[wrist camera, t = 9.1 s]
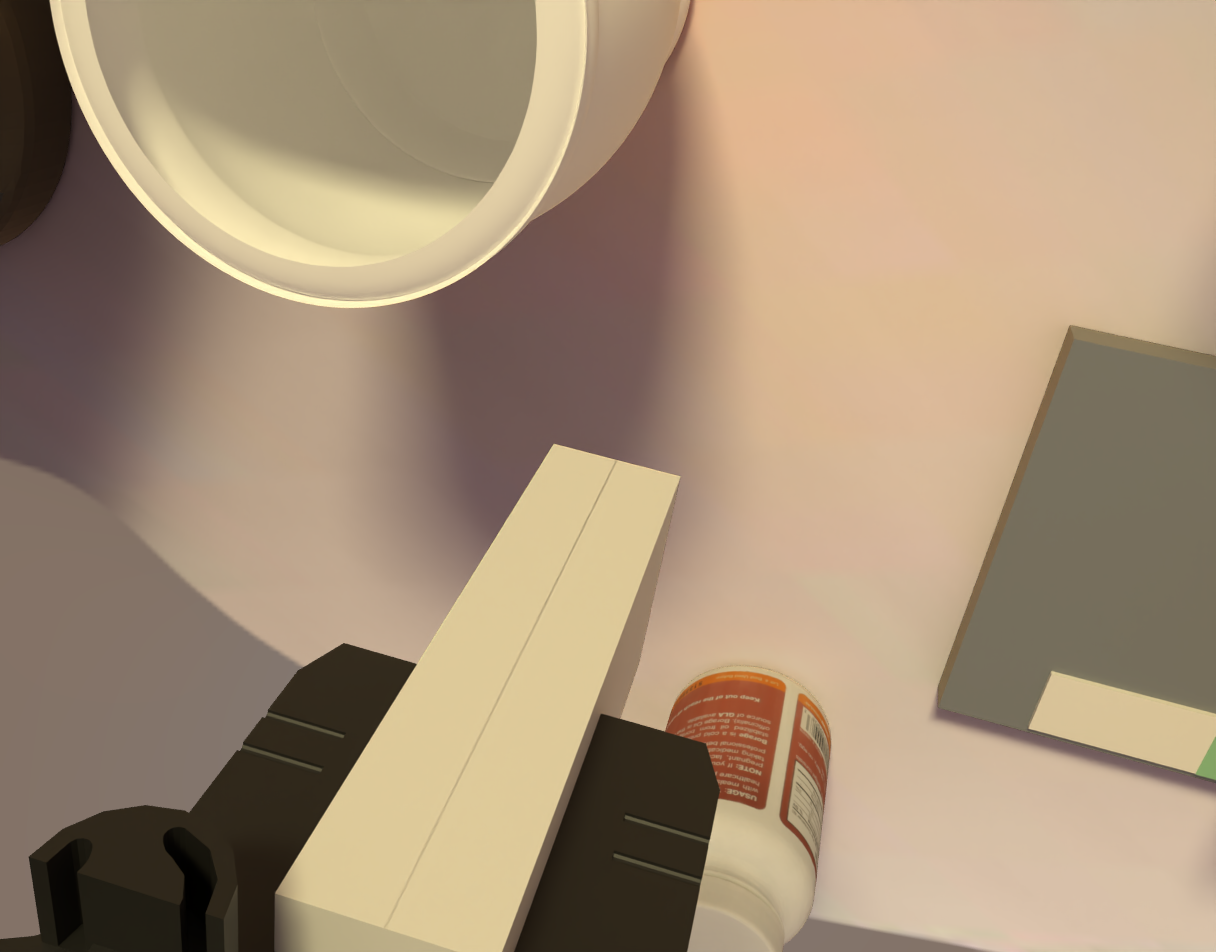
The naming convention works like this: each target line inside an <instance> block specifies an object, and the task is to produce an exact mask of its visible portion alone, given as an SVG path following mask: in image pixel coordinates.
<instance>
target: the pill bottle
mask: <svg viewBox="0 0 1216 952" xmlns="http://www.w3.org/2000/svg"><path fill="white" fill-rule="evenodd" d="M665 732H668V733H671V734H675V735H678V736H682V737H685V738H689V739H692V740H696V741H699V742H703V743H706V745H707V748H708V752H709V755H710V758H711V762H712V765H713V768H714V772H715V775H716V778H717V782H718V785H719V788H720V793H719V798H718V803H717V808H716V813H715V818H714V823H713V828H712V833H711V837H710V841H709V845H708V852H707V857H706V862H705V867H704V872H703V877H702V881H701V885H700V892H699V896H698V901H697V906H696V911H695V916H694V921H693V926H692V931H691V936H690V941H689V946H688V950H687V952H783V947H784V944H786V943H787V942H789V941H790V940H791V939H792V938H793V937H794V936H795V935H796V934H797V933H798V932H799V931H800V930H801V928H802V927H803V926H804V924H805V923H806V921H807V919H808V917H809V915H810V912H811V909H812V906H813V901H814V895H815V887H816V879H817V868H818V858H819V849H820V840H821V830H822V822H823V812H824V804H825V794H826V786H827V776H828V767H829V759H830V748H831V734H830V728H829V724H828V721H827V718H826V716H825V713H824V711H823V710H822V708H821V706H820V705H819V703H818V702H817V700H816V699H815V698H814V697H813V696H812V695H811V694H810V692H808V691H807V690H806V689H805V688H804V687H802V686H801V685H800V684H798V683H797V682H795V681H794V680H792V679H790V678H788V677H786V676H784V675H782V674H780V673H777V672H775V671H772V670H768V669H764V668H760V667H753V666H727V667H722V668H717V669H713V670H711V671H708V672H705V673H703V674H701V675H699V676H698V677H696V678H695V679H693V680H692V681H691V682H690V683H689V684H688V685H687V686H686V687H685V688H684V689H683V690H682V691H681V693H680V694H679V696H678V697H677V699H676V701H675V703H674V706H673V708H672V711H671V714H670V717H669V720H668V724H667V727H666V730H665Z"/></svg>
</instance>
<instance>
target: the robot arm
mask: <svg viewBox="0 0 1216 952" xmlns="http://www.w3.org/2000/svg"><path fill="white" fill-rule="evenodd" d="M70 126H71V93H70V81H69V77H68V74H67V72H66V69H65V65H64V62H63V59H62V56H61V52H60V48H59V45H58V41H57V37H56V32H55V28H54V23H53V18H52V12H51V6H50V0H0V246H1V245H3V244H5V243H7V242H9V241H10V240H12V239H14V238H15V237H17V236H18V235H19V234H21V233H22V232H23V231H24V230H25V229H27V228H28V227H29V226H30V225H31V224H32V223H33V222H34V221H35V220H36V218H37V217H38V216H39V215H40V213H41V212H42V211H43V209H44V208H45V206H46V205H47V203H48V202H49V200H50V198H51V196H52V194H53V193H54V191H55V189H56V186H57V184H58V181H59V179H60V176H61V173H62V170H63V167H64V164H65V159H66V155H67V150H68V144H69V137H70ZM680 477H681V476H677V475H673V474H669V473H666V472H662V471H658V470H654V469H650V468H646V467H642V466H638V465H634V464H631V463H627V462H623V461H619V460H615V459H611V458H607V457H603V456H599V455H596V454H592V453H588V452H584V451H580V450H576V449H572V448H568V447H564V446H561V445H557V444H553V446H552V448H551V449H550V451H549V452H548V454H547V456H546V457H545V459H544V460H543V462H542V464H541V465H540V467H539V468H538V470H537V472H536V473H535V475H534V477H533V478H532V480H531V481H530V483H529V485H528V486H527V488H526V489H525V491H524V493H523V494H522V496H521V497H520V499H519V501H518V502H517V504H516V506H515V507H514V509H513V510H512V512H511V514H510V515H509V517H508V518H507V520H506V522H505V523H504V525H503V527H502V528H501V530H500V531H499V533H498V535H497V536H496V538H495V539H494V541H493V543H492V544H491V546H490V547H489V549H488V551H487V552H486V554H485V556H484V557H483V559H482V560H481V562H480V564H479V565H478V567H477V568H476V570H475V572H474V573H473V575H472V576H471V578H470V580H469V581H468V583H467V585H466V586H465V588H464V589H463V591H462V593H461V594H460V596H459V597H458V599H457V601H456V602H455V604H454V605H453V607H452V609H451V610H450V612H449V614H448V615H447V617H446V618H445V620H444V622H443V623H442V625H441V626H440V628H439V630H438V631H437V633H436V635H435V636H434V638H433V639H432V641H431V643H430V644H429V646H428V647H427V649H426V651H425V652H424V654H423V655H422V657H421V659H420V660H419V662H418V664H415V663H412V662H408V661H405V660H401V659H398V658H394V657H391V656H387V655H384V654H380V653H377V652H373V651H370V650H366V649H363V648H359V647H356V646H352V645H349V644H345V643H343V644H342V645H340V646H338V647H337V648H335V649H333V650H332V651H330V652H328V653H327V654H325V655H323V656H322V657H320V658H318V659H317V660H315V661H313V662H312V663H310V664H308V665H307V666H305V667H303V668H302V669H300V670H298V671H297V673H296V674H295V675H294V677H293V678H292V679H291V680H290V682H289V683H288V684H287V686H286V687H285V688H284V690H283V691H282V692H281V694H280V695H279V696H278V697H277V699H276V700H275V701H274V703H273V704H272V705H271V707H270V708H269V709H268V714H267V716H266V717H265V718H263V717H262V718H261V720H260V721H259V722H258V724H257V725H256V726H255V728H254V729H253V730H252V731H251V733H250V734H249V735H248V737H247V738H246V739H245V741H244V742H243V746H242V749H241V750H240V751H238V750H237V751H236V752H235V754H234V755H233V756H232V758H231V759H230V760H229V761H228V763H227V764H226V765H225V767H224V768H223V769H222V771H221V772H220V773H219V775H218V776H217V777H216V778H215V780H214V781H213V782H212V784H211V785H210V786H209V788H208V789H207V790H206V792H205V793H204V794H203V795H202V797H201V798H200V799H199V801H198V802H197V803H196V805H195V806H194V807H193V809H192V810H191V811H190V812H189V813H188V812H186V811H183V810H176V809H169V808H162V807H155V806H147V805H144V806H137V807H131V808H124V809H118V810H110V811H104V812H101V813H99V814H96V815H94V816H92V817H89V818H87V819H85V820H83V821H80V822H78V823H76V824H73V825H71V826H69V827H66V828H64V829H62V830H61V831H60V832H58V833H57V834H56V835H55V836H54V837H52V838H51V839H50V840H49V841H47V842H46V843H45V844H44V845H43V846H42V847H40V848H39V849H38V850H36V851H35V852H34V853H33V854H32V855H30V856H29V861H30V868H31V874H32V880H33V888H34V894H35V900H36V907H37V914H38V919H39V926H40V933H41V934H39V935H36V936H31V937H30V936H29V937H19V938H8V939H0V952H687V950H688V946H689V941H690V936H691V931H692V926H693V921H694V916H695V911H696V906H697V901H698V896H699V892H700V885H701V881H702V877H703V872H704V867H705V862H706V857H707V852H708V845H709V841H710V837H711V833H712V828H713V823H714V818H715V813H716V808H717V803H718V798H719V793H720V788H719V785H718V782H717V778H716V775H715V772H714V768H713V765H712V762H711V758H710V755H709V752H708V748H707V745H706V743H703V742H699V741H696V740H692V739H689V738H685V737H682V736H678V735H675V734H671V733H668V732H664V731H661V730H657V729H654V728H650V727H647V726H643V725H640V724H636V723H633V722H629V721H626V720H622V719H620V718H621V715H622V712H623V709H624V706H625V703H626V700H627V697H628V694H629V691H630V688H631V685H632V682H633V679H634V676H635V673H636V671H637V668H638V665H639V661H640V657H641V652H642V648H643V643H644V639H645V634H646V630H647V625H648V621H649V616H650V612H651V607H652V603H653V598H654V594H655V589H656V585H657V580H658V576H659V571H660V567H661V563H662V558H663V554H664V549H665V545H666V540H667V536H668V531H669V527H670V522H671V518H672V513H673V509H674V504H675V500H676V495H677V491H678V486H679V482H680Z"/></svg>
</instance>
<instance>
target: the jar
mask: <svg viewBox="0 0 1216 952" xmlns="http://www.w3.org/2000/svg"><path fill="white" fill-rule="evenodd" d="M689 5H690V0H50V6H51V12H52V18H53V23H54V28H55V32H56V37H57V41H58V45H59V48H60V52H61V56H62V59H63V62H64V65H65V69H66V72H67V74H68V77H69V80H70V83H71V86H72V88H73V91H74V93H75V96H76V98H77V100H78V103H79V105H80V107H81V110H82V112H83V114H84V116H85V118H86V120H87V122H88V124H89V126H90V128H91V130H92V132H93V134H94V136H95V137H96V139H97V141H98V143H99V144H100V146H101V148H102V150H103V151H104V153H105V154H106V156H107V158H108V159H109V161H110V162H111V164H112V165H113V167H114V168H115V170H116V171H117V173H118V174H119V175H120V177H121V178H122V180H123V181H124V182H125V184H126V185H127V186H128V187H129V189H130V190H131V191H132V192H133V194H134V195H135V196H136V197H137V199H138V200H139V201H140V202H141V203H142V204H143V205H144V207H145V208H146V209H147V210H148V211H149V212H150V213H151V214H152V215H153V216H154V217H155V218H156V219H157V220H158V221H159V222H160V223H161V224H162V225H163V226H164V227H165V228H166V229H167V230H168V231H169V232H170V233H171V234H173V235H174V236H175V237H176V238H177V239H178V240H179V241H181V242H182V243H183V244H184V245H186V246H187V247H188V248H189V249H191V250H192V251H193V252H195V253H196V254H197V255H199V256H200V257H202V258H203V259H204V260H206V261H207V262H209V263H210V264H212V265H214V266H215V267H217V268H218V269H220V270H222V271H223V272H225V273H227V274H229V275H231V276H232V277H234V278H236V279H238V280H240V281H242V282H244V283H246V284H248V285H251V286H253V287H255V288H258V289H260V290H263V291H265V292H268V293H271V294H274V295H277V296H280V297H283V298H286V299H290V300H294V301H298V302H302V303H307V304H313V305H319V306H327V307H339V308H364V307H376V306H384V305H390V304H395V303H400V302H404V301H408V300H412V299H415V298H418V297H421V296H424V295H427V294H430V293H432V292H435V291H437V290H439V289H442V288H444V287H446V286H448V285H450V284H452V283H454V282H456V281H457V280H459V279H461V278H463V277H464V276H466V275H468V274H469V273H471V272H472V271H474V270H475V269H477V268H478V267H479V266H481V265H482V264H483V263H485V262H486V261H487V260H489V259H490V258H492V257H493V256H494V255H496V254H497V253H498V252H500V251H501V250H502V249H503V248H504V247H506V246H507V245H508V244H509V243H510V242H511V241H512V240H513V239H514V238H515V237H516V236H517V235H518V234H519V233H520V232H521V231H522V230H523V229H524V228H525V227H526V226H527V225H528V224H529V223H530V221H532V220H534V219H535V218H537V217H539V216H541V215H542V214H544V213H546V212H547V211H549V210H550V209H552V208H554V207H555V206H557V205H558V204H559V203H561V202H562V201H564V200H565V199H566V198H568V197H569V196H570V195H572V194H573V193H574V192H576V191H577V190H578V189H579V188H580V187H582V186H583V185H584V184H585V183H586V182H587V181H588V180H590V179H591V178H592V177H593V176H594V175H595V174H596V173H597V172H598V171H599V170H600V169H601V168H602V167H603V166H604V165H605V164H606V163H607V161H608V160H609V159H610V158H611V157H612V156H613V155H614V153H615V152H616V151H617V150H618V148H619V147H620V146H621V145H622V143H623V142H624V141H625V139H626V138H627V137H628V135H629V134H630V132H631V131H632V129H633V128H634V126H635V125H636V123H637V122H638V120H639V118H640V117H641V115H642V113H643V111H644V110H645V108H646V106H647V104H648V102H649V100H650V98H651V96H652V94H653V92H654V90H655V87H656V85H657V83H658V80H659V78H660V75H661V73H662V70H663V67H664V64H665V63H666V61H667V60H668V58H669V56H670V55H671V53H672V51H673V49H674V47H675V45H676V43H677V41H678V39H679V37H680V34H681V32H682V29H683V27H684V24H685V20H686V17H687V13H688V10H689Z"/></svg>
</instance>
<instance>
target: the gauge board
mask: <svg viewBox="0 0 1216 952" xmlns="http://www.w3.org/2000/svg"><path fill="white" fill-rule="evenodd" d="M938 708H941V709H944V710H948V711H952V712H955V713H959V714H963V715H967V716H970V717H974V718H978V719H981V720H985V721H989V722H992V723H996V724H1000V725H1003V726H1007V727H1011V728H1015V729H1018V730H1022V731H1026V732H1029V733H1033V734H1037V735H1040V736H1044V737H1048V738H1051V739H1055V740H1059V741H1063V742H1066V743H1070V744H1074V745H1077V746H1081V747H1085V748H1088V749H1092V750H1096V751H1099V752H1103V753H1107V754H1111V755H1114V756H1118V757H1122V758H1125V759H1129V760H1133V761H1136V762H1140V763H1144V764H1147V765H1151V766H1155V767H1159V768H1162V769H1166V770H1170V771H1173V772H1177V773H1181V774H1184V775H1188V776H1192V777H1195V778H1199V779H1203V780H1207V781H1210V782H1214V783H1216V356H1212V355H1207V354H1203V353H1198V352H1193V351H1189V350H1184V349H1179V348H1174V347H1170V346H1165V345H1160V344H1156V343H1151V342H1146V341H1142V340H1137V339H1132V338H1128V337H1123V336H1118V335H1114V334H1109V333H1104V332H1099V331H1095V330H1090V329H1085V328H1081V327H1076V326H1071V325H1070V326H1069V329H1068V332H1067V335H1066V337H1065V340H1064V343H1063V346H1062V348H1061V351H1060V354H1059V357H1058V359H1057V362H1056V365H1055V367H1054V370H1053V373H1052V376H1051V378H1050V381H1049V384H1048V387H1047V389H1046V392H1045V395H1044V398H1043V400H1042V403H1041V406H1040V409H1039V411H1038V414H1037V417H1036V420H1035V422H1034V425H1033V428H1032V431H1031V433H1030V436H1029V439H1028V441H1027V444H1026V447H1025V450H1024V452H1023V455H1022V458H1021V461H1020V463H1019V466H1018V469H1017V472H1016V474H1015V477H1014V480H1013V483H1012V485H1011V488H1010V491H1009V494H1008V496H1007V499H1006V502H1005V505H1004V507H1003V510H1002V513H1001V516H1000V518H999V521H998V524H997V526H996V529H995V532H994V535H993V537H992V540H991V543H990V546H989V548H988V551H987V554H986V557H985V559H984V562H983V565H982V568H981V570H980V573H979V576H978V579H977V581H976V584H975V587H974V590H973V592H972V595H971V598H970V601H969V603H968V606H967V609H966V611H965V614H964V617H963V620H962V622H961V625H960V628H959V631H958V633H957V636H956V639H955V642H954V644H953V647H952V650H951V653H950V655H949V658H948V661H947V664H946V666H945V669H944V672H943V675H942V677H941V680H940V683H939V685H938Z"/></svg>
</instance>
